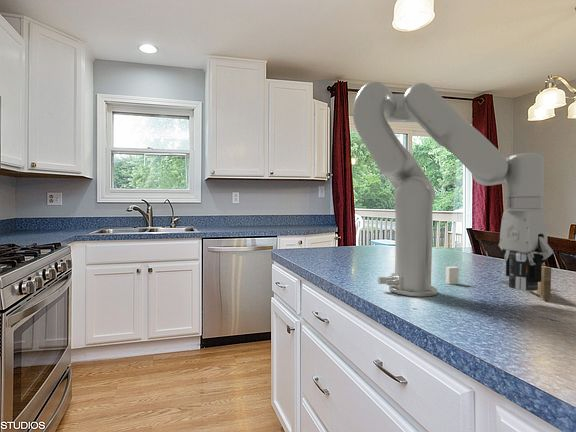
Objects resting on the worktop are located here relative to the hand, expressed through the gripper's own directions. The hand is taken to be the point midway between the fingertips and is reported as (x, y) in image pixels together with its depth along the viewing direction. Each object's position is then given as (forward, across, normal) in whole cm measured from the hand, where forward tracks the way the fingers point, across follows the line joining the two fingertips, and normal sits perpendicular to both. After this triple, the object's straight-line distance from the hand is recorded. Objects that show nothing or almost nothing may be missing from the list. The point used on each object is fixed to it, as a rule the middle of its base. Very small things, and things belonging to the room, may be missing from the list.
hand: (522, 278), depth 85 cm
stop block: (+6, -23, -4) cm, 24 cm away
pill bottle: (+3, 0, 0) cm, 3 cm away
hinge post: (+6, -20, +15) cm, 26 cm away
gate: (+6, -10, +11) cm, 16 cm away
